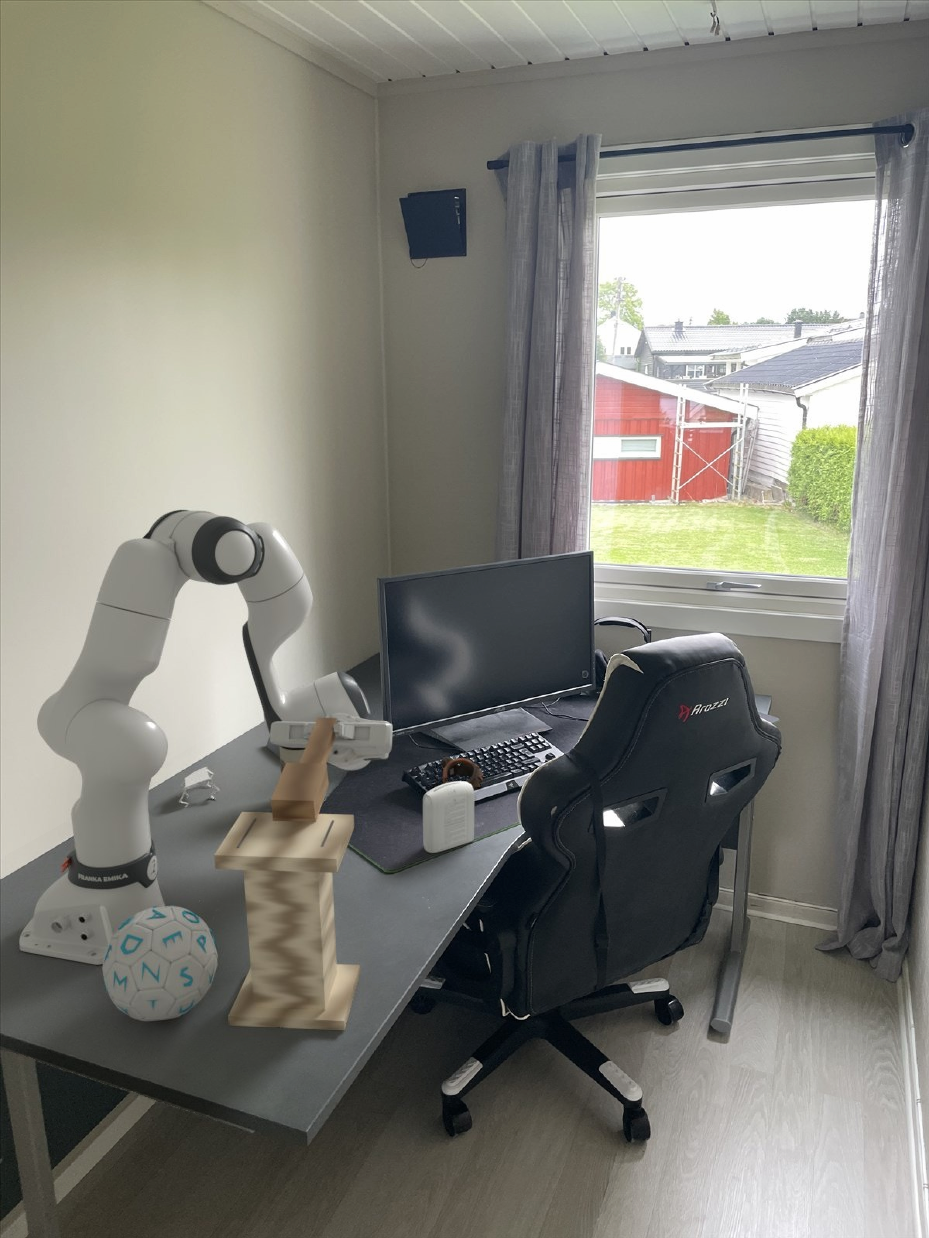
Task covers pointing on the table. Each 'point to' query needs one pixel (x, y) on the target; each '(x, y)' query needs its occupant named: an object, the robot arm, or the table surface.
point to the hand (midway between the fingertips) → (323, 728)
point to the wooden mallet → (305, 778)
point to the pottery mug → (461, 770)
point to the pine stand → (290, 921)
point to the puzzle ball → (160, 963)
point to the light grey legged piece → (197, 782)
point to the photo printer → (448, 816)
